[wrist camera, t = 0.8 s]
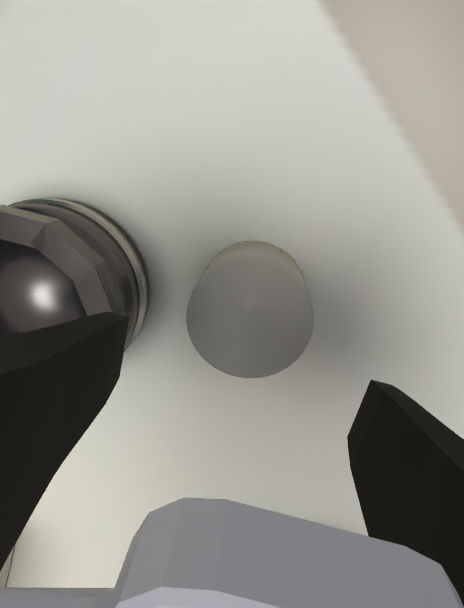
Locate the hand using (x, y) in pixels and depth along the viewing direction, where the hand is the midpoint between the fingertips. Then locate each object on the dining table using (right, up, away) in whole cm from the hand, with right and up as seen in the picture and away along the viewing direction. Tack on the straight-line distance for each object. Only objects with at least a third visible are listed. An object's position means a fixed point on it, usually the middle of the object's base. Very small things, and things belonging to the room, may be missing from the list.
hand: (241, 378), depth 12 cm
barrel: (-8, +3, +9) cm, 13 cm away
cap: (+1, +3, +8) cm, 9 cm away
